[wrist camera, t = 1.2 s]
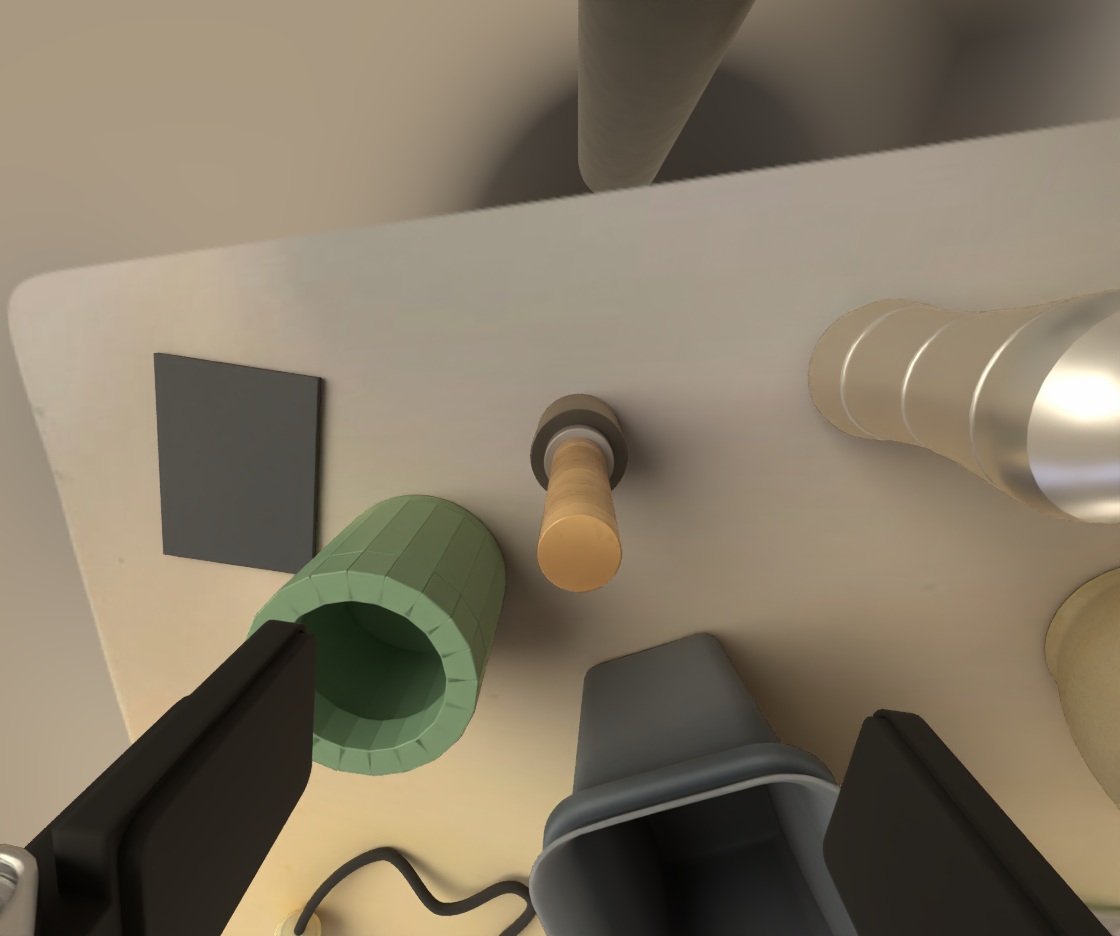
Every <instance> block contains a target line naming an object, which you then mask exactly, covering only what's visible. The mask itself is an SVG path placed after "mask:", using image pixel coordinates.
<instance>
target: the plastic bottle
mask: <svg viewBox="0 0 1120 936" xmlns="http://www.w3.org/2000/svg"><path fill="white" fill-rule="evenodd" d="M808 386H809V390H810V394H811V398H812V400H813V401H814V403H815V405H816V407H817V408H818V410H819V411H820V412H821V413H822V414H823V416H824V417H825V418H827V419H828V420H829V421H830V422H831V423H832V424H833V425H834V426H836V427H837V428H838V429H840V430H841V431H843V432H846V433H848V434H850V435H853V436H857V437H862V438H868V439H874V440H895V441H900V442H904V443H908V444H913V445H917V446H921V447H925V448H927V449H929V450H931V451H933V452H935V453H937V454H940V455H942V456H944V457H946V458H948V459H951V460H953V461H955V462H957V463H959V464H961V465H962V466H964V467H965V468H967V469H968V470H970V471H971V472H973V473H974V474H976V475H978V476H979V477H981V478H982V479H984V480H985V481H987V482H988V483H990V484H991V485H993V486H995V487H996V488H998V489H999V490H1001V491H1002V492H1004V493H1006V494H1007V495H1008V496H1010V497H1011V498H1013V499H1015V500H1017V501H1019V502H1021V503H1023V504H1025V505H1027V506H1029V507H1031V508H1033V509H1035V510H1037V511H1039V512H1041V513H1044V514H1046V515H1048V516H1051V517H1055V518H1060V519H1065V520H1069V521H1080V522H1092V523H1120V290H1111V291H1104V292H1099V293H1094V294H1089V295H1083V296H1080V297H1075V298H1070V299H1065V300H1060V301H1056V302H1051V303H1046V304H1041V305H1036V306H1031V307H1026V308H1018V309H1007V310H995V311H989V312H973V313H971V312H962V311H953V310H944V309H939V308H936V307H933V306H931V305H927V304H922V303H918V302H912V301H907V300H883V301H878V302H874V303H871V304H869V305H866V306H863V307H861V308H858V309H856V310H854V311H851V312H849V313H847V314H846V315H844V316H842V317H841V318H839V319H838V320H837V321H836V322H834V323H833V324H832V325H831V326H830V327H829V328H828V329H827V330H826V332H825V333H824V334H823V335H822V337H821V338H820V339H819V341H818V343H817V345H816V347H815V349H814V351H813V354H812V357H811V360H810V363H809V370H808Z"/></svg>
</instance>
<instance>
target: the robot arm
mask: <svg viewBox="0 0 1120 936" xmlns="http://www.w3.org/2000/svg"><path fill="white" fill-rule="evenodd" d="M316 652H317V639H316V636H315V635H313V634H308V629H307V626H306V625H304V624H300V623H293V622H286V621H280V620H273V619H272V620H268V621H266V622H265V623H264V624H263V625H262V626H261V627H260V628H259V629H258V630H257V631H256V632H255V633H254V634H252V635H251V636H250V637H249V638H248V639H247V640H246V641H245V642H244V643H243V644H242V645H241V646H240V647H239V648H238V649H237V650H236V651H235V652H234V653H233V654H232V655H231V656H230V657H229V658H228V659H227V660H226V661H225V662H224V663H223V664H221V665H220V666H219V667H218V668H217V669H216V670H215V671H214V672H213V673H212V674H211V675H210V676H209V677H208V678H207V679H206V680H205V681H204V682H203V683H202V684H201V685H200V686H199V687H198V688H197V689H196V690H195V691H194V692H193V693H192V694H190V695H189V696H186V697H184V698H182V699H181V700H180V701H178V702H177V703H176V704H174V705H173V706H172V707H171V708H170V709H169V710H168V711H167V712H166V713H165V714H164V715H163V716H162V717H161V718H160V719H159V720H158V721H157V722H156V723H155V724H153V725H152V726H151V727H150V728H149V729H148V730H147V731H146V732H145V733H144V734H143V735H142V736H141V737H140V738H139V739H138V740H137V741H136V742H135V743H134V744H133V745H131V746H130V747H129V749H127V750H126V751H125V752H124V753H123V754H122V755H121V756H120V757H119V758H118V759H117V760H116V761H115V762H114V763H113V764H112V765H111V766H109V768H107V769H106V770H105V771H104V772H103V773H102V774H101V775H100V776H99V777H98V778H97V779H96V780H95V781H94V782H93V783H92V784H91V785H90V786H89V787H87V788H86V790H85V791H83V792H82V793H81V794H80V795H79V796H78V797H77V798H76V799H75V800H74V801H73V802H72V803H71V804H70V805H69V806H68V807H66V808H65V809H64V810H63V811H62V812H61V813H60V815H58V816H57V817H56V818H55V819H54V820H53V821H52V822H51V823H50V824H49V825H48V826H47V827H46V828H44V830H42V831H41V832H40V833H39V834H38V835H37V836H36V837H35V838H34V839H33V840H32V841H31V842H30V843H29V844H28V845H27V846H26V847H25V848H21V847H17V846H13V845H8V844H0V936H220V935H221V934H222V932H223V930H224V929H225V927H226V925H227V923H228V922H229V920H230V918H231V916H232V915H233V913H234V911H235V910H236V908H237V906H238V904H239V903H240V901H241V899H242V897H243V896H244V894H245V892H246V891H247V889H248V887H249V885H250V884H251V882H252V880H253V878H254V877H255V875H256V873H257V872H258V870H259V868H260V866H261V865H262V863H263V861H264V859H265V858H266V856H267V854H268V853H269V851H270V849H271V847H272V846H273V844H274V842H275V840H276V839H277V837H278V835H279V834H280V832H281V830H282V828H283V827H284V825H285V823H286V821H287V820H288V818H289V816H290V815H291V813H292V811H293V809H294V808H295V806H296V804H297V802H298V801H299V799H300V797H301V796H302V794H303V792H304V790H305V788H306V786H307V783H308V780H309V777H310V773H311V768H312V750H313V726H314V701H315V677H316ZM823 857H824V861H825V864H826V867H827V869H828V872H829V874H830V876H831V878H832V880H833V883H834V885H835V887H836V889H837V891H838V893H839V896H840V898H841V900H842V902H843V904H844V907H845V909H846V911H847V913H848V915H849V917H850V920H851V922H852V924H853V926H854V928H855V930H856V933H857V935H858V936H1112V935H1111V934H1110V933H1109V932H1108V930H1107V929H1106V928H1105V927H1104V926H1103V925H1102V924H1101V922H1100V921H1099V920H1098V919H1097V918H1096V917H1095V916H1094V914H1093V913H1092V912H1091V911H1090V910H1089V909H1088V907H1087V906H1086V905H1085V904H1084V903H1083V902H1082V901H1081V899H1080V898H1079V897H1078V896H1077V895H1076V894H1075V893H1074V891H1073V890H1072V889H1071V888H1070V887H1069V886H1068V885H1067V883H1066V882H1065V881H1064V880H1063V879H1062V878H1061V877H1060V875H1059V874H1058V873H1057V872H1056V871H1055V870H1054V869H1053V867H1052V866H1051V865H1050V864H1049V863H1048V862H1047V861H1046V859H1045V858H1044V857H1043V856H1042V855H1041V854H1040V852H1039V851H1038V850H1037V849H1036V848H1035V847H1034V846H1033V844H1032V843H1031V842H1030V841H1029V840H1028V839H1027V838H1026V836H1025V835H1024V834H1023V833H1022V832H1021V831H1020V830H1019V828H1018V827H1017V826H1016V825H1015V824H1014V823H1013V822H1012V820H1011V819H1010V818H1009V817H1008V816H1007V815H1006V814H1005V812H1004V811H1003V810H1002V809H1001V808H1000V807H999V805H998V804H997V803H996V802H995V801H994V800H993V799H992V797H991V796H990V795H989V794H988V793H987V792H986V791H985V789H984V788H983V787H982V786H981V785H980V784H979V783H978V781H977V780H976V779H975V778H974V777H973V776H972V775H971V773H970V772H969V771H968V770H967V769H966V768H965V767H964V765H963V764H962V763H961V762H960V761H959V760H958V759H957V757H956V756H955V755H954V754H953V753H952V752H951V750H950V749H949V748H948V747H947V746H946V745H945V744H944V742H943V741H942V740H941V739H940V738H939V737H938V736H937V734H936V733H935V732H934V731H933V730H932V729H931V728H930V726H929V725H928V724H927V723H926V722H925V721H924V720H923V719H922V718H921V717H920V716H919V715H916V714H913V713H906V712H900V711H893V710H886V709H880V710H877V711H876V712H875V713H874V715H873V717H872V716H870V717H867V718H866V719H865V720H864V722H863V724H862V727H861V730H860V733H859V736H858V739H857V742H856V745H855V748H854V751H853V754H852V757H851V760H850V763H849V766H848V769H847V772H846V775H845V777H844V780H843V783H842V786H841V789H840V792H839V795H838V798H837V801H836V804H835V807H834V810H833V813H832V816H831V819H830V822H829V825H828V828H827V831H826V834H825V836H824V840H823Z"/></svg>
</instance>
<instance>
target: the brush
mask: <svg viewBox="0 0 1120 936" xmlns="http://www.w3.org/2000/svg"><path fill="white" fill-rule="evenodd" d="M530 458H531V466H532V470H533V472H534V475H535V477H536V479H537V480H538V482H539V483H540V485H541V486H542V487H543V488H544V489H545V490H546V491H547V496H546V502H545V507H544V513H543V519H542V525H541V531H540V537H539V542H538V549H537V557H538V562H539V565H540V568H541V570H542V572H543V573H544V575H545V576H546V577H547V578H548V580H549V581H551V582H552V583H553V584H555V585H556V586H558V587H560V588H562V589H564V590H567V591H571V592H588V591H592V590H595V589H598V588H600V587H602V586H604V585H605V584H606V583H608V582H609V581H610V580H611V579H612V578H613V577H614V575H615V574H616V572H617V571H618V568H619V566H620V563H621V558H622V549H621V543H620V537H619V532H618V526H617V521H616V516H615V510H614V505H613V499H612V494H611V491H612V490H613V489H614V488H615V487H616V486H617V485H618V483H619V482H620V480H621V479H622V477H623V475H624V472H625V470H626V466H627V459H628V452H627V446H626V442H625V439H624V436H623V434H622V431H621V428H620V426H619V423H618V420H617V418H616V416H615V414H614V412H613V411H612V410H611V408H610V407H609V406H608V405H607V404H605V403H604V402H603V401H601V400H600V399H598V398H596V397H593V396H590V395H585V394H573V395H568V396H565V397H562V398H560V399H558V400H557V401H555V402H554V403H552V404H551V405H550V406H549V407H548V408H547V409H546V411H545V412H544V414H543V415H542V417H541V420H540V422H539V425H538V428H537V431H536V434H535V437H534V440H533V442H532V446H531V454H530Z"/></svg>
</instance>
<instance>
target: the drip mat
mask: <svg viewBox="0 0 1120 936" xmlns="http://www.w3.org/2000/svg"><path fill="white" fill-rule="evenodd" d="M154 369H155V390H156V411H157V432H158V453H159V474H160V494H161V515H162V536H163V554H165V555H172V556H179V557H185V558H192V559H199V560H205V561H212V562H219V563H225V564H232V565H239V566H245V567H252V568H259V569H265V570H272V571H279V572H285V573H292V574H297V573H298V572H299V571H300V570H301V569H302V568H303V567H304V566H306V565H307V564H308V563H309V562H310V561H311V560H312V559H313V558H314V557H315V546H316V515H317V484H318V454H319V423H320V392H321V378H320V377H313V376H307V375H300V374H294V373H287V372H281V371H274V370H268V369H261V368H254V367H248V366H241V365H235V364H228V363H222V362H215V361H209V360H202V359H196V358H189V357H183V356H176V355H170V354H163V353H154Z"/></svg>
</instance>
